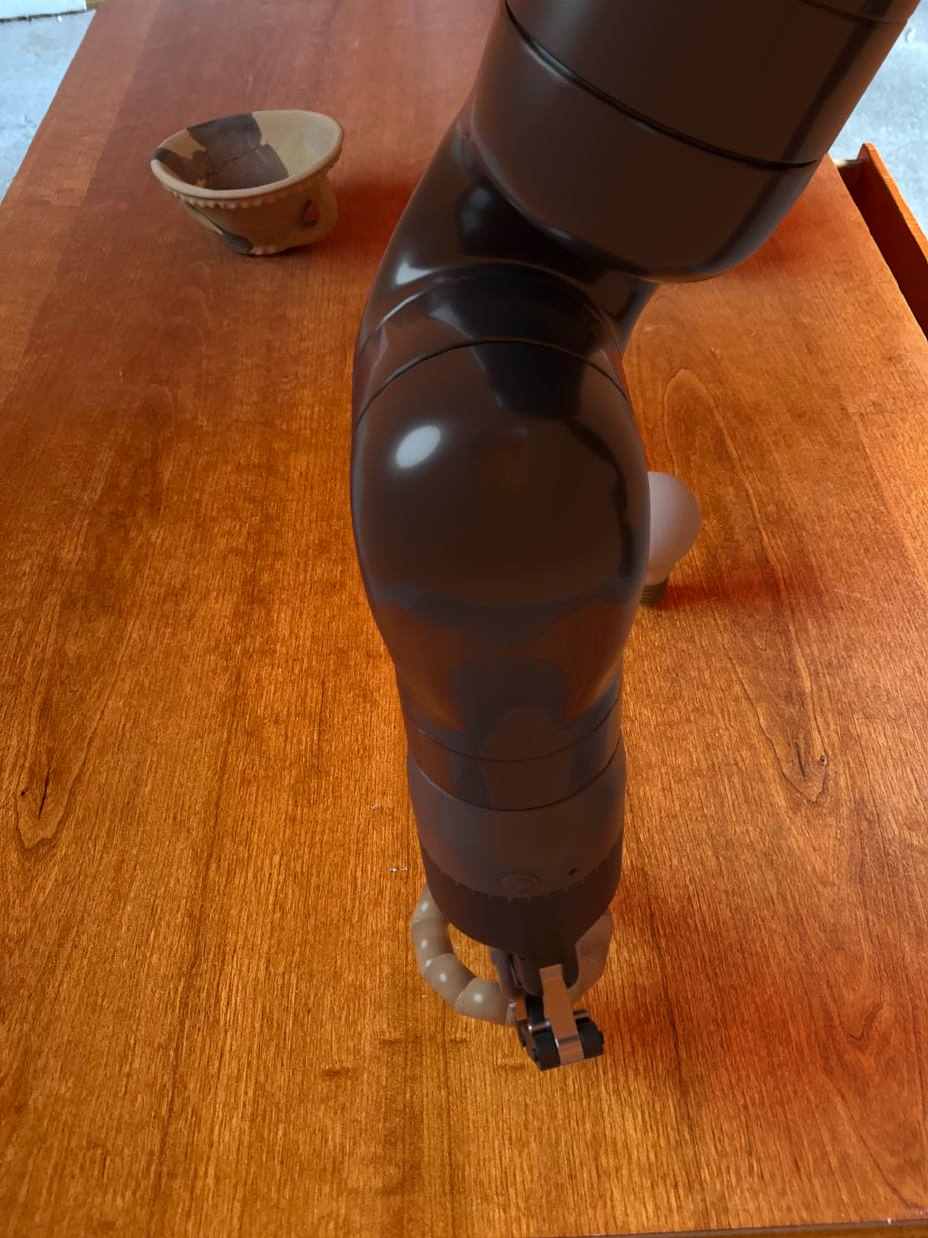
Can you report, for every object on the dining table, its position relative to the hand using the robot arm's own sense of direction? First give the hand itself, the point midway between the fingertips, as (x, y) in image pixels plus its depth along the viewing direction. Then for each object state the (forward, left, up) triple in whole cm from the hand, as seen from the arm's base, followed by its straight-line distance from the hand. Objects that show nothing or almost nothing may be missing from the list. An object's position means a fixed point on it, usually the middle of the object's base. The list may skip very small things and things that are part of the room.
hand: (533, 1004), depth 53 cm
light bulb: (-15, -26, -4) cm, 30 cm away
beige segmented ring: (0, -4, +1) cm, 4 cm away
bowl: (+4, -81, -4) cm, 81 cm away
